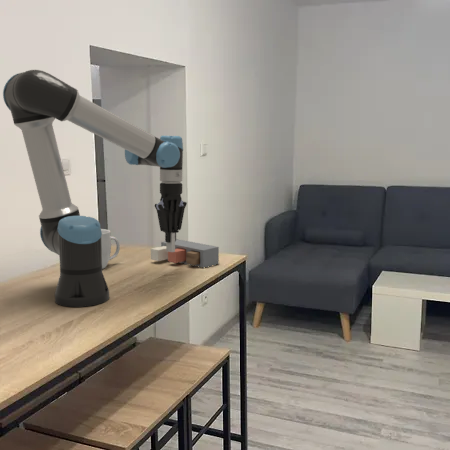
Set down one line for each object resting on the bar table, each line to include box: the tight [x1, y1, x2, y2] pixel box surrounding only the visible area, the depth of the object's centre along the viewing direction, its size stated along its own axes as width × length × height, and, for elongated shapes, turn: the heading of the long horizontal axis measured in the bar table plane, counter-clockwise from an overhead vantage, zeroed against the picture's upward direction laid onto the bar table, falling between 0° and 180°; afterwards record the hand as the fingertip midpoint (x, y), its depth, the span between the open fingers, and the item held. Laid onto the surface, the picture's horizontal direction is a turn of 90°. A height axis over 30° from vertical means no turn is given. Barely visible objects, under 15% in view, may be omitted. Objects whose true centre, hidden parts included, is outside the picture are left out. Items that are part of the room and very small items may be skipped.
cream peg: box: [150, 246, 168, 262], centre depth 206 cm, size 9×4×4 cm, turn 139°
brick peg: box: [167, 248, 186, 264], centre depth 203 cm, size 9×4×4 cm, turn 139°
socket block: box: [160, 238, 220, 269], centre depth 206 cm, size 8×22×6 cm, turn 49°
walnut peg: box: [186, 251, 200, 265], centre depth 200 cm, size 9×4×4 cm, turn 139°
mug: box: [101, 228, 121, 270], centre depth 196 cm, size 15×11×13 cm
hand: (170, 251), depth 189 cm, fingers closed
